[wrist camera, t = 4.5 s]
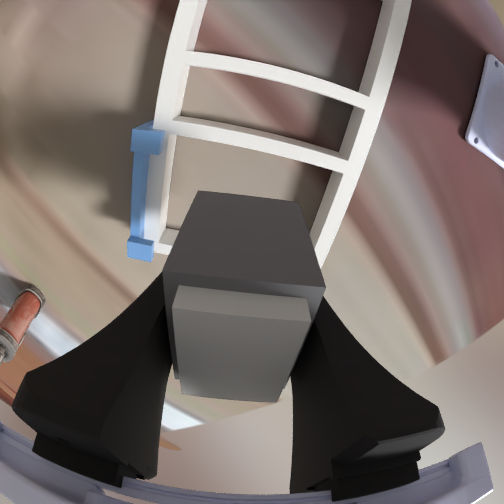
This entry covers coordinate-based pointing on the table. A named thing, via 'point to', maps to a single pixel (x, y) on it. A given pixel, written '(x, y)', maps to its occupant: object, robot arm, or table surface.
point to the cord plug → (240, 296)
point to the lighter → (19, 320)
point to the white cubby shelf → (172, 124)
